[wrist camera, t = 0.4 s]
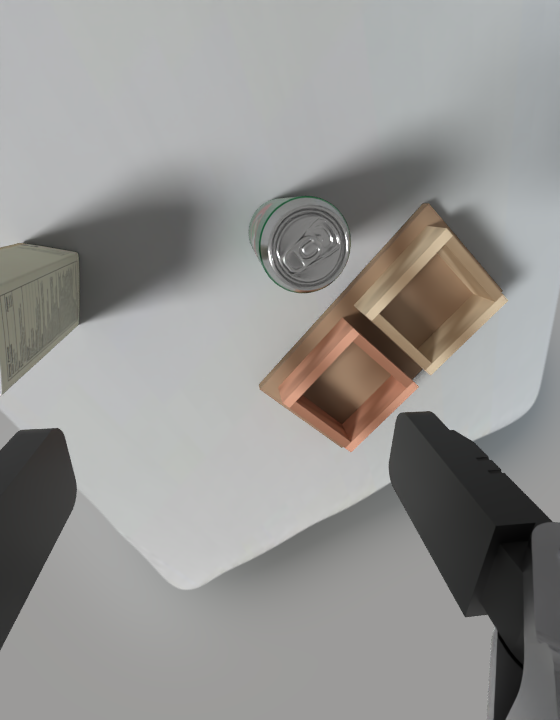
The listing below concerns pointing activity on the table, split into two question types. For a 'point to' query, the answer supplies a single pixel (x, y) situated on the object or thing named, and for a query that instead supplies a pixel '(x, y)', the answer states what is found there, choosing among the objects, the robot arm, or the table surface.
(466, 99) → the table surface
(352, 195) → the table surface
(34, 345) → the skincare box
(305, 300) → the table surface
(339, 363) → the can rack
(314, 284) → the soda can
